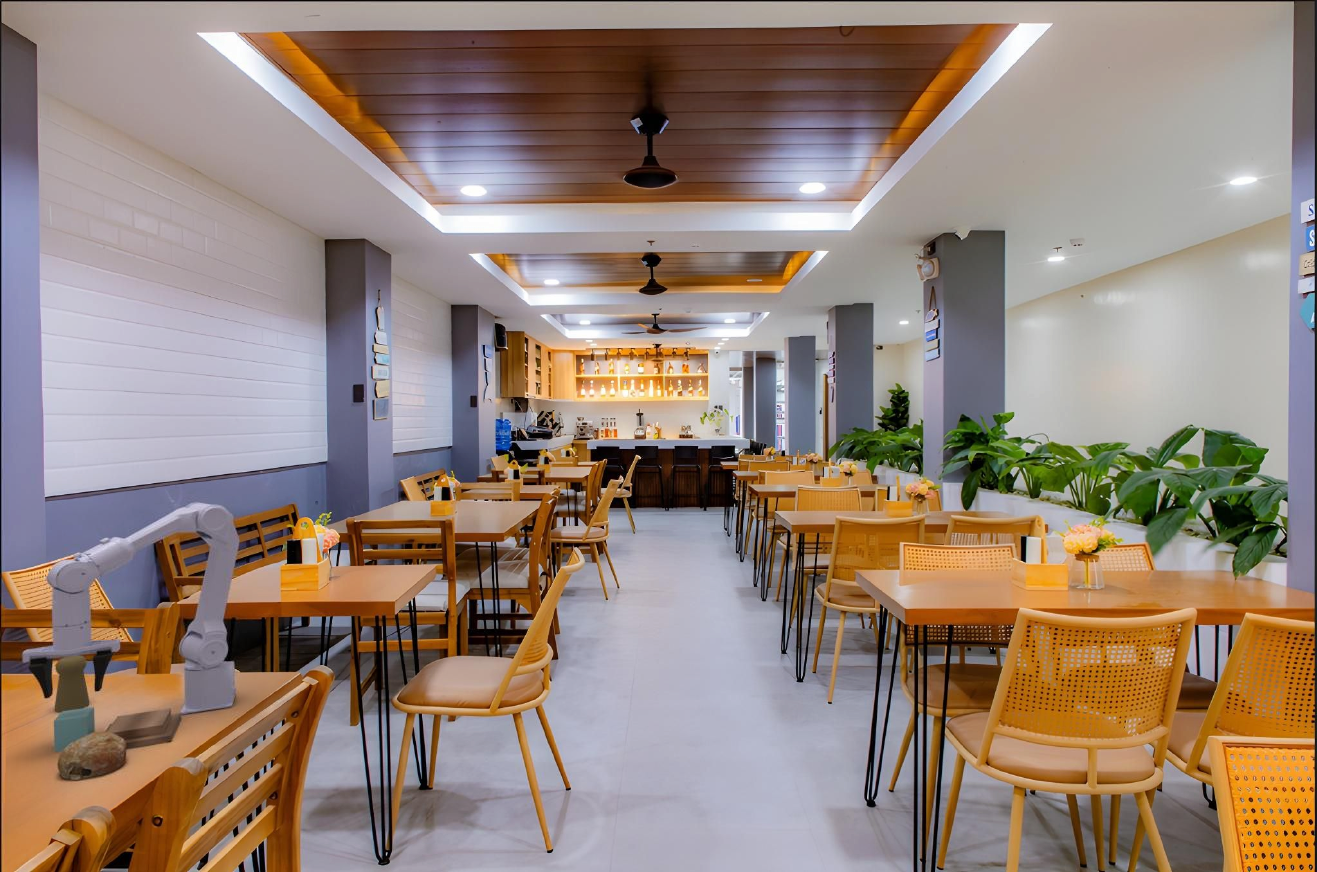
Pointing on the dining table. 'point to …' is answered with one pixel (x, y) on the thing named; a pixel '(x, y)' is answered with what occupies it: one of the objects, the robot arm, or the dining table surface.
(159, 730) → the walnut stand
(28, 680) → the dining table surface
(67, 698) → the cork
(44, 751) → the dining table surface
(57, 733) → the teal block
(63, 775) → the brown rounded lump
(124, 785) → the dining table surface
